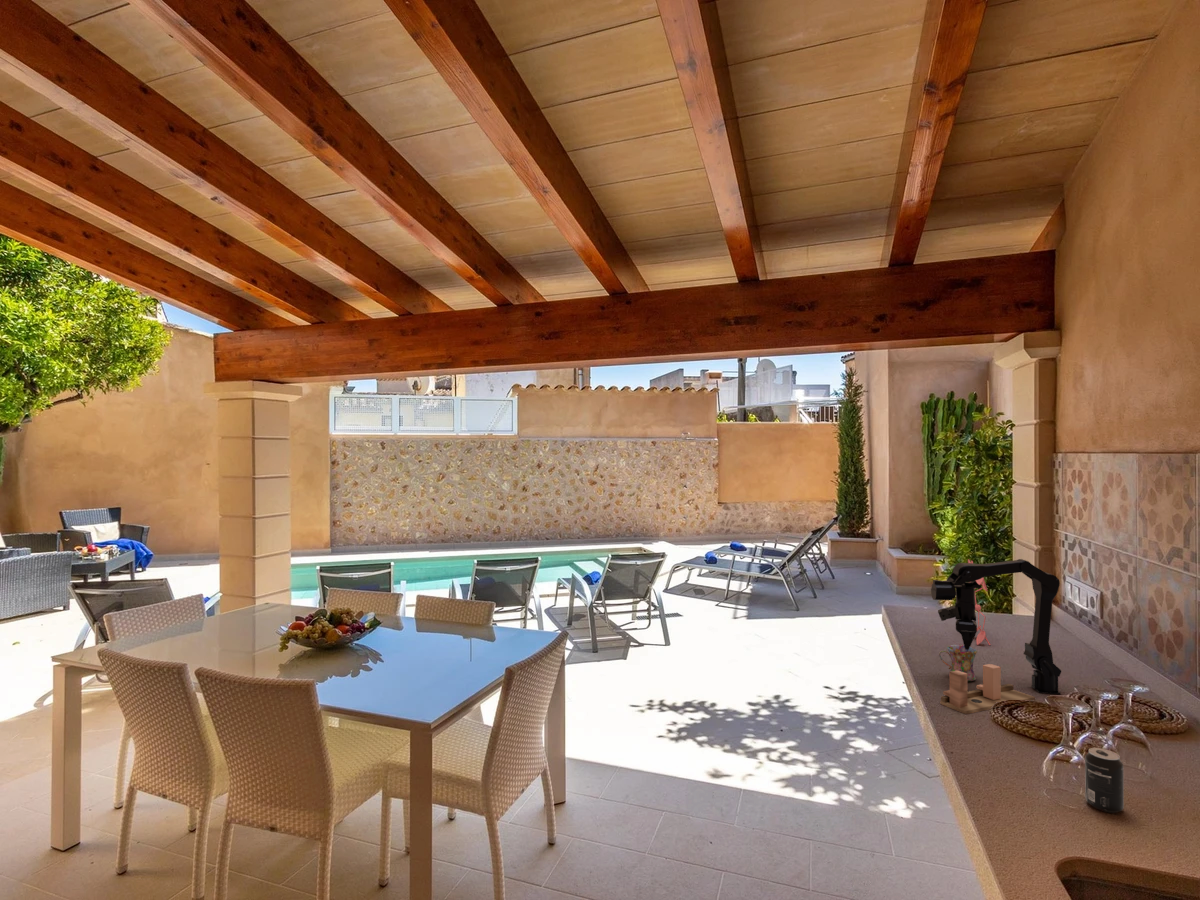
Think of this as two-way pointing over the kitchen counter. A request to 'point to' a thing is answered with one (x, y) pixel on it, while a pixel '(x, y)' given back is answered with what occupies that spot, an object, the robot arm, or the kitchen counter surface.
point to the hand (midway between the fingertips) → (966, 645)
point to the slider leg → (991, 682)
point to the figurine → (977, 608)
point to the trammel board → (975, 695)
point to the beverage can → (1104, 780)
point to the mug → (961, 660)
